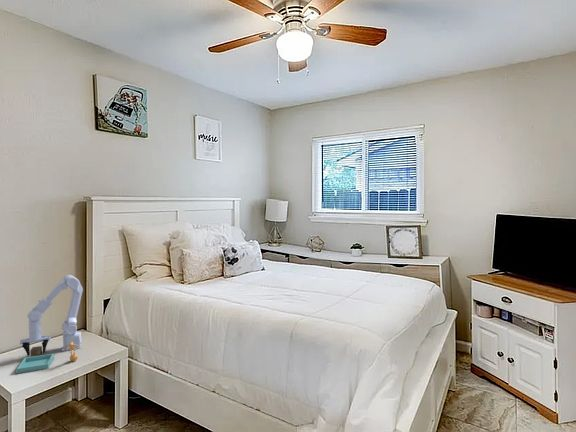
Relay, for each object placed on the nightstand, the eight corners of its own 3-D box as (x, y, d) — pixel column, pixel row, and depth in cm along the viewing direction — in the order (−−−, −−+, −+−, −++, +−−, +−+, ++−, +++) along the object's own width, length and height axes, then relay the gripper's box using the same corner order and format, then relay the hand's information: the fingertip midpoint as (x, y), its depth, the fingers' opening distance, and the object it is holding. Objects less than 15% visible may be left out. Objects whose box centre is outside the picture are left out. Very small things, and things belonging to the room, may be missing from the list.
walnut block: (42, 354, 209) (41, 345, 209) (40, 357, 205) (39, 349, 205) (33, 355, 207) (32, 347, 207) (30, 358, 203) (30, 350, 203)
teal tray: (54, 357, 204) (54, 353, 204) (48, 368, 191) (48, 364, 191) (25, 362, 199) (24, 357, 199) (16, 373, 186) (16, 369, 186)
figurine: (83, 358, 203) (82, 337, 202) (79, 363, 197) (78, 342, 196) (67, 359, 201) (66, 339, 201) (62, 364, 195) (61, 343, 195)
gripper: (51, 326, 212) (52, 349, 212) (22, 330, 206) (23, 353, 207) (48, 330, 205) (49, 353, 206) (18, 334, 200) (19, 358, 200)
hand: (36, 353), depth 206 cm, fingers open, 7 cm apart
